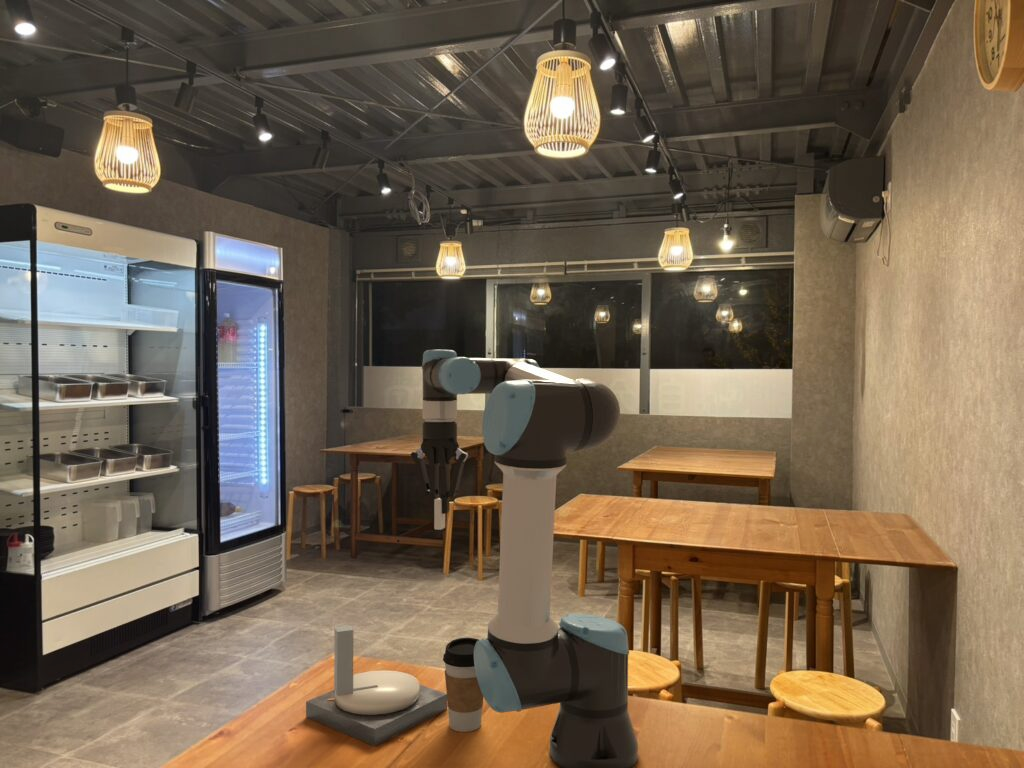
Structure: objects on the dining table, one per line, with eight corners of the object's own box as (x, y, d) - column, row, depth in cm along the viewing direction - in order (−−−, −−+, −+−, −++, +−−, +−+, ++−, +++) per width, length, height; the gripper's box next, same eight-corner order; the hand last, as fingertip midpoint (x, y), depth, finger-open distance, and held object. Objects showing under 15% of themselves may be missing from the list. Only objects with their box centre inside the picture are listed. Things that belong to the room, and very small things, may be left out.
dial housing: (447, 709, 149) (447, 693, 149) (374, 746, 134) (374, 728, 134) (379, 685, 161) (379, 670, 160) (306, 717, 145) (306, 700, 145)
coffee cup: (490, 715, 146) (490, 637, 146) (484, 736, 138) (484, 653, 138) (447, 713, 147) (447, 636, 147) (438, 733, 139) (438, 651, 139)
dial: (406, 675, 158) (407, 608, 158) (429, 706, 143) (429, 631, 143) (328, 687, 151) (328, 617, 151) (343, 720, 137) (344, 643, 137)
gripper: (473, 420, 169) (473, 526, 168) (418, 419, 172) (418, 524, 172) (462, 421, 161) (462, 533, 161) (405, 420, 165) (405, 530, 165)
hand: (439, 528), depth 167 cm, fingers closed
